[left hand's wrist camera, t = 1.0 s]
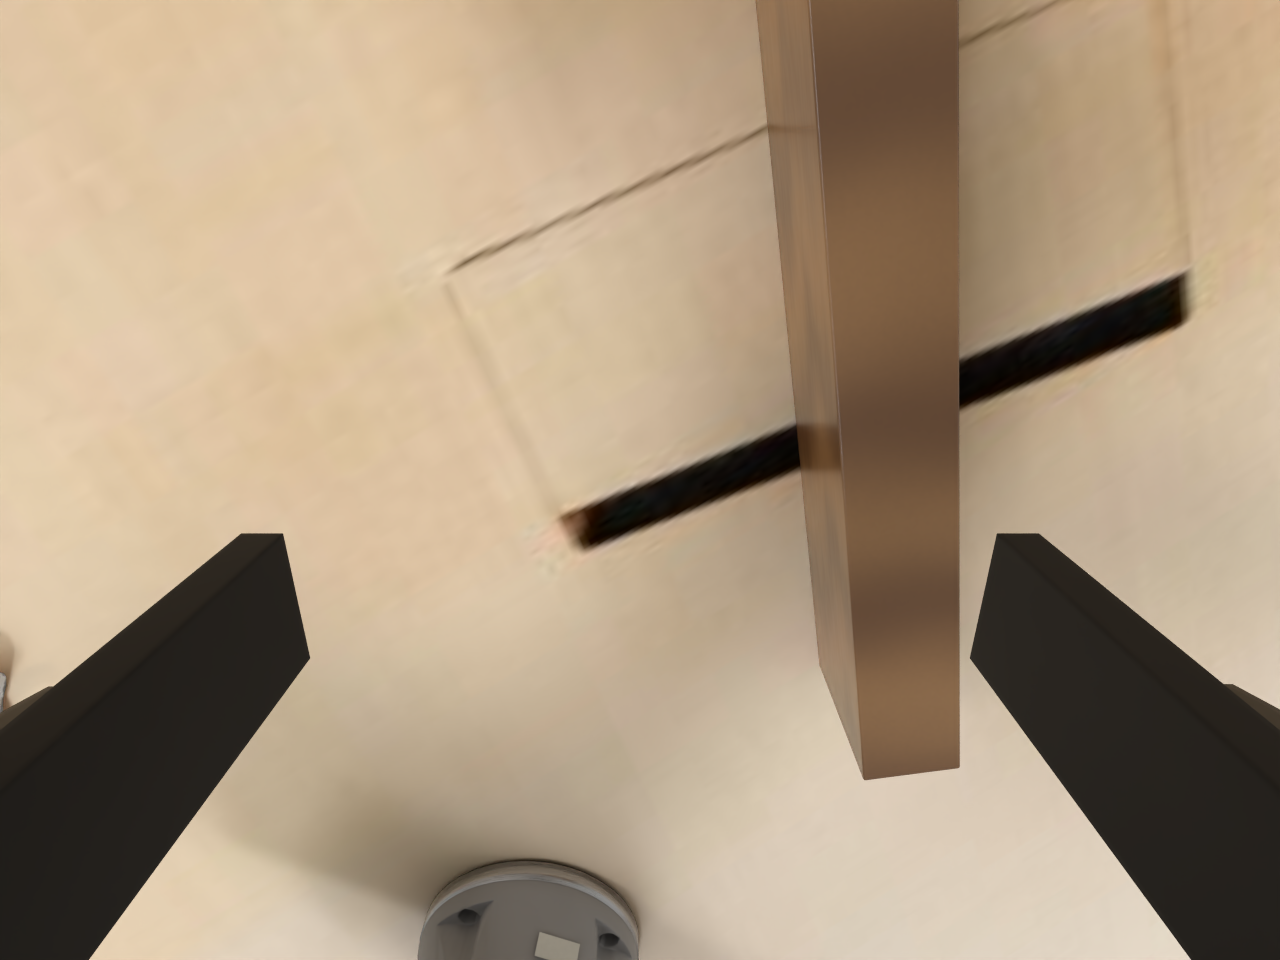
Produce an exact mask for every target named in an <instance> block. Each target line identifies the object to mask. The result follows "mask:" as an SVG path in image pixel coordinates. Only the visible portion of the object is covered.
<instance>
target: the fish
mask: <svg viewBox="0 0 1280 960" xmlns="http://www.w3.org/2000/svg"><path fill="white" fill-rule="evenodd" d="M5 688H6V676H5V674H4V673H1V672H0V713H1V712H2V711H3V696H4V692H5Z"/></svg>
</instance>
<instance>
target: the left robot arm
mask: <svg viewBox="0 0 1280 960" xmlns="http://www.w3.org/2000/svg"><path fill="white" fill-rule="evenodd" d="M309 659H310V655H309V651H308V646H307V642H306V637H305V632H304V628H303V623H302V619H301V614H300V609H299V605H298V600H297V596H296V591H295V587H294V582H293V577H292V573H291V568H290V564H289V559H288V554H287V550H286V545H285V541H284V536H283V534H240V535H239V536H238V537H236V538H235V539H234V540H233V541H232V542H230V543H229V544H228V545H227V546H225V547H224V548H223V549H222V550H220V551H219V552H218V553H217V554H216V555H214V556H213V557H212V558H211V559H209V560H208V561H207V562H206V563H205V564H203V565H202V566H201V567H200V568H198V569H197V570H196V571H195V572H194V573H192V574H191V575H190V576H189V577H187V578H186V579H185V580H184V581H182V582H181V583H180V584H179V585H178V586H176V587H175V588H174V589H173V590H171V591H170V592H169V593H168V594H167V595H165V596H164V597H163V598H162V599H160V600H159V601H158V602H157V603H155V604H154V605H153V606H152V607H151V608H149V609H148V610H147V611H146V612H144V613H143V614H142V615H141V616H140V617H138V618H137V619H136V620H135V621H133V622H132V623H131V624H130V625H128V626H127V627H126V628H125V629H124V630H122V631H121V632H120V633H119V634H117V635H116V636H115V637H114V638H113V639H111V640H110V641H109V642H108V643H106V644H105V645H104V646H103V647H101V648H100V649H99V650H98V651H97V652H95V653H94V654H93V655H92V656H90V657H89V658H88V659H87V660H86V661H84V662H83V663H82V664H81V665H79V666H78V667H77V668H76V669H74V670H73V671H72V672H71V673H70V674H68V675H67V676H66V677H65V678H63V679H62V680H61V681H60V682H59V683H57V684H56V685H55V686H54V687H47V688H45V689H43V690H41V691H39V692H37V693H36V694H34V695H32V696H30V697H28V698H26V699H24V700H23V701H21V702H19V703H17V704H15V705H13V706H12V707H10V708H8V709H6V710H4V711H2V712H1V713H0V960H89V959H90V957H91V956H92V955H93V953H94V952H95V951H96V949H97V948H98V946H99V945H100V944H101V942H102V941H103V940H104V938H105V937H106V936H107V934H108V933H109V932H110V930H111V929H112V927H113V926H114V925H115V923H116V922H117V921H118V919H119V918H120V917H121V915H122V914H123V912H124V911H125V910H126V908H127V907H128V906H129V904H130V903H131V902H132V900H133V899H134V897H135V896H136V895H137V893H138V892H139V891H140V889H141V888H142V887H143V885H144V884H145V882H146V881H147V880H148V878H149V877H150V876H151V874H152V873H153V872H154V870H155V869H156V867H157V866H158V865H159V863H160V862H161V861H162V859H163V858H164V857H165V855H166V854H167V852H168V851H169V850H170V848H171V847H172V846H173V844H174V843H175V842H176V840H177V839H178V837H179V836H180V835H181V833H182V832H183V831H184V829H185V828H186V827H187V825H188V824H189V822H190V821H191V820H192V818H193V817H194V816H195V814H196V813H197V812H198V810H199V809H200V807H201V806H202V805H203V803H204V802H205V801H206V799H207V798H208V797H209V795H210V794H211V793H212V791H213V790H214V788H215V787H216V786H217V784H218V783H219V782H220V780H221V779H222V778H223V776H224V775H225V773H226V772H227V771H228V769H229V768H230V767H231V765H232V764H233V763H234V761H235V760H236V758H237V757H238V756H239V754H240V753H241V752H242V750H243V749H244V748H245V746H246V745H247V743H248V742H249V741H250V739H251V738H252V737H253V735H254V734H255V733H256V731H257V730H258V728H259V727H260V726H261V724H262V723H263V722H264V720H265V719H266V718H267V716H268V715H269V713H270V712H271V711H272V709H273V708H274V707H275V705H276V704H277V703H278V701H279V700H280V698H281V697H282V696H283V694H284V693H285V692H286V690H287V689H288V688H289V686H290V685H291V683H292V682H293V681H294V679H295V678H296V677H297V675H298V674H299V673H300V671H301V670H302V669H303V667H304V666H305V664H306V663H307V662H308V660H309ZM970 659H971V660H972V662H973V663H974V664H975V666H976V667H977V669H978V670H979V671H980V673H981V674H982V675H983V677H984V678H985V679H986V681H987V682H988V683H989V685H990V686H991V688H992V689H993V690H994V692H995V693H996V694H997V696H998V697H999V698H1000V700H1001V701H1002V703H1003V704H1004V705H1005V707H1006V708H1007V709H1008V711H1009V712H1010V713H1011V715H1012V716H1013V718H1014V719H1015V720H1016V722H1017V723H1018V724H1019V726H1020V727H1021V728H1022V730H1023V731H1024V733H1025V734H1026V735H1027V737H1028V738H1029V739H1030V741H1031V742H1032V743H1033V745H1034V746H1035V748H1036V749H1037V750H1038V752H1039V753H1040V754H1041V756H1042V757H1043V758H1044V760H1045V761H1046V763H1047V764H1048V765H1049V767H1050V768H1051V769H1052V771H1053V772H1054V773H1055V775H1056V776H1057V778H1058V779H1059V780H1060V782H1061V783H1062V784H1063V786H1064V787H1065V788H1066V790H1067V791H1068V793H1069V794H1070V795H1071V797H1072V798H1073V799H1074V801H1075V802H1076V803H1077V805H1078V806H1079V807H1080V809H1081V810H1082V812H1083V813H1084V814H1085V816H1086V817H1087V818H1088V820H1089V821H1090V822H1091V824H1092V825H1093V827H1094V828H1095V829H1096V831H1097V832H1098V833H1099V835H1100V836H1101V837H1102V839H1103V840H1104V842H1105V843H1106V844H1107V846H1108V847H1109V848H1110V850H1111V851H1112V852H1113V854H1114V855H1115V857H1116V858H1117V859H1118V861H1119V862H1120V863H1121V865H1122V866H1123V867H1124V869H1125V870H1126V872H1127V873H1128V874H1129V876H1130V877H1131V878H1132V880H1133V881H1134V882H1135V884H1136V885H1137V887H1138V888H1139V889H1140V891H1141V892H1142V893H1143V895H1144V896H1145V897H1146V899H1147V900H1148V902H1149V903H1150V904H1151V906H1152V907H1153V908H1154V910H1155V911H1156V912H1157V914H1158V915H1159V917H1160V918H1161V919H1162V921H1163V922H1164V923H1165V925H1166V926H1167V927H1168V929H1169V930H1170V932H1171V933H1172V934H1173V936H1174V937H1175V938H1176V940H1177V941H1178V942H1179V944H1180V945H1181V946H1182V948H1183V949H1184V951H1185V952H1186V953H1187V955H1188V956H1189V957H1190V959H1191V960H1280V710H1279V709H1278V708H1276V707H1274V706H1272V705H1270V704H1268V703H1267V702H1265V701H1263V700H1261V699H1259V698H1257V697H1255V696H1254V695H1252V694H1250V693H1248V692H1246V691H1244V690H1242V689H1241V688H1239V687H1237V686H1235V685H1233V684H1223V683H1221V682H1220V681H1219V680H1218V679H1217V678H1215V677H1214V676H1213V675H1212V674H1210V673H1209V672H1208V671H1207V670H1206V669H1204V668H1203V667H1202V666H1201V665H1199V664H1198V663H1197V662H1196V661H1194V660H1193V659H1192V658H1191V657H1190V656H1188V655H1187V654H1186V653H1185V652H1183V651H1182V650H1181V649H1180V648H1179V647H1177V646H1176V645H1175V644H1174V643H1172V642H1171V641H1170V640H1169V639H1167V638H1166V637H1165V636H1164V635H1163V634H1161V633H1160V632H1159V631H1158V630H1156V629H1155V628H1154V627H1153V626H1152V625H1150V624H1149V623H1148V622H1147V621H1145V620H1144V619H1143V618H1142V617H1140V616H1139V615H1138V614H1137V613H1136V612H1134V611H1133V610H1132V609H1131V608H1129V607H1128V606H1127V605H1126V604H1125V603H1123V602H1122V601H1121V600H1120V599H1118V598H1117V597H1116V596H1115V595H1113V594H1112V593H1111V592H1110V591H1109V590H1107V589H1106V588H1105V587H1104V586H1102V585H1101V584H1100V583H1099V582H1098V581H1096V580H1095V579H1094V578H1093V577H1091V576H1090V575H1089V574H1088V573H1087V572H1085V571H1084V570H1083V569H1082V568H1080V567H1079V566H1078V565H1077V564H1075V563H1074V562H1073V561H1072V560H1071V559H1069V558H1068V557H1067V556H1066V555H1064V554H1063V553H1062V552H1061V551H1060V550H1058V549H1057V548H1056V547H1055V546H1053V545H1052V544H1051V543H1050V542H1048V541H1047V540H1046V539H1045V538H1044V537H1042V536H1041V535H1040V534H997V536H996V541H995V545H994V550H993V554H992V559H991V564H990V568H989V573H988V577H987V582H986V587H985V591H984V596H983V600H982V605H981V609H980V614H979V619H978V623H977V628H976V632H975V637H974V642H973V646H972V651H971V655H970ZM418 960H638V928H637V924H636V921H635V918H634V916H633V914H632V912H631V910H630V908H629V907H628V905H627V904H626V903H625V902H624V900H623V899H622V898H621V897H620V896H619V895H618V894H617V893H616V892H615V891H614V890H612V889H611V888H610V887H609V886H607V885H606V884H604V883H603V882H601V881H599V880H598V879H596V878H594V877H592V876H590V875H588V874H586V873H584V872H581V871H578V870H576V869H573V868H569V867H566V866H562V865H557V864H553V863H546V862H536V861H514V862H504V863H497V864H493V865H488V866H485V867H482V868H478V869H476V870H473V871H471V872H468V873H466V874H464V875H462V876H460V877H459V878H457V879H455V880H454V881H452V882H451V883H450V884H448V885H447V886H446V887H445V888H444V889H443V890H442V891H441V892H440V893H439V894H438V895H437V896H436V898H435V899H434V901H433V902H432V904H431V906H430V908H429V910H428V913H427V916H426V919H425V923H424V926H423V929H422V933H421V936H420V944H419V950H418Z"/></svg>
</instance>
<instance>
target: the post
mask: <svg viewBox="0 0 1280 960" xmlns="http://www.w3.org/2000/svg"><path fill="white" fill-rule="evenodd" d="M756 8H757V18H758V29H759V39H760V49H761V60H762V70H763V81H764V91H765V102H766V112H767V122H768V133H769V143H770V154H771V164H772V174H773V185H774V195H775V206H776V216H777V227H778V237H779V247H780V258H781V268H782V279H783V289H784V300H785V310H786V320H787V331H788V341H789V352H790V362H791V372H792V383H793V393H794V404H795V414H796V425H797V435H798V445H799V456H800V466H801V477H802V487H803V498H804V508H805V518H806V529H807V539H808V550H809V560H810V570H811V581H812V591H813V602H814V612H815V623H816V633H817V643H818V654H819V664H820V667H821V670H822V673H823V675H824V678H825V680H826V683H827V686H828V688H829V691H830V693H831V696H832V699H833V701H834V704H835V706H836V709H837V712H838V714H839V717H840V719H841V722H842V725H843V727H844V730H845V732H846V735H847V738H848V740H849V743H850V746H851V748H852V751H853V753H854V756H855V759H856V761H857V764H858V766H859V769H860V772H861V774H862V777H863V779H864V780H871V779H878V778H886V777H894V776H901V775H909V774H917V773H924V772H932V771H940V770H947V769H955V768H959V767H960V708H959V42H958V0H756Z"/></svg>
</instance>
